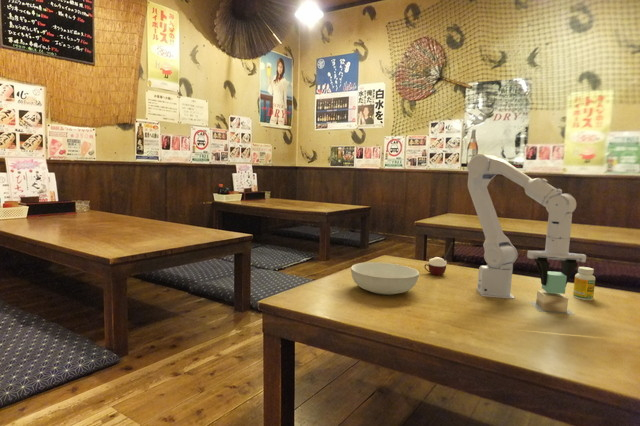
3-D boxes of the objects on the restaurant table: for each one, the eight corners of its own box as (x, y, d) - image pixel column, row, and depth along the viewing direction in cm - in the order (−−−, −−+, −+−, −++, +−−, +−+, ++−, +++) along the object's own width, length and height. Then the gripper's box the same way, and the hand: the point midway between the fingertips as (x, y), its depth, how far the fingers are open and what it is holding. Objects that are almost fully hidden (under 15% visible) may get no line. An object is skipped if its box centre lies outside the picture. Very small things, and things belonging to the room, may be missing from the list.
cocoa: (423, 274, 153) (423, 242, 152) (428, 271, 158) (428, 239, 157) (449, 278, 148) (449, 244, 147) (453, 274, 153) (454, 241, 152)
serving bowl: (431, 298, 124) (433, 275, 123) (369, 304, 116) (370, 280, 116) (394, 279, 143) (395, 260, 143) (339, 283, 136) (339, 263, 135)
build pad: (539, 312, 114) (539, 311, 114) (528, 302, 123) (528, 301, 123) (574, 315, 113) (575, 314, 113) (561, 305, 122) (561, 304, 122)
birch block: (543, 310, 116) (544, 296, 115) (536, 303, 121) (537, 290, 121) (566, 312, 115) (568, 298, 114) (558, 305, 120) (559, 291, 120)
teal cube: (547, 292, 116) (549, 274, 115) (541, 287, 120) (543, 270, 119) (564, 293, 115) (566, 276, 114) (558, 289, 119) (560, 272, 119)
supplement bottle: (577, 294, 133) (581, 265, 132) (596, 299, 129) (599, 269, 128) (569, 297, 130) (572, 267, 129) (588, 302, 126) (591, 271, 125)
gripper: (534, 237, 113) (530, 286, 115) (593, 241, 111) (587, 291, 112) (526, 234, 120) (522, 280, 122) (581, 237, 118) (576, 284, 119)
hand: (553, 285), depth 117 cm, fingers closed on teal cube, 4 cm apart
